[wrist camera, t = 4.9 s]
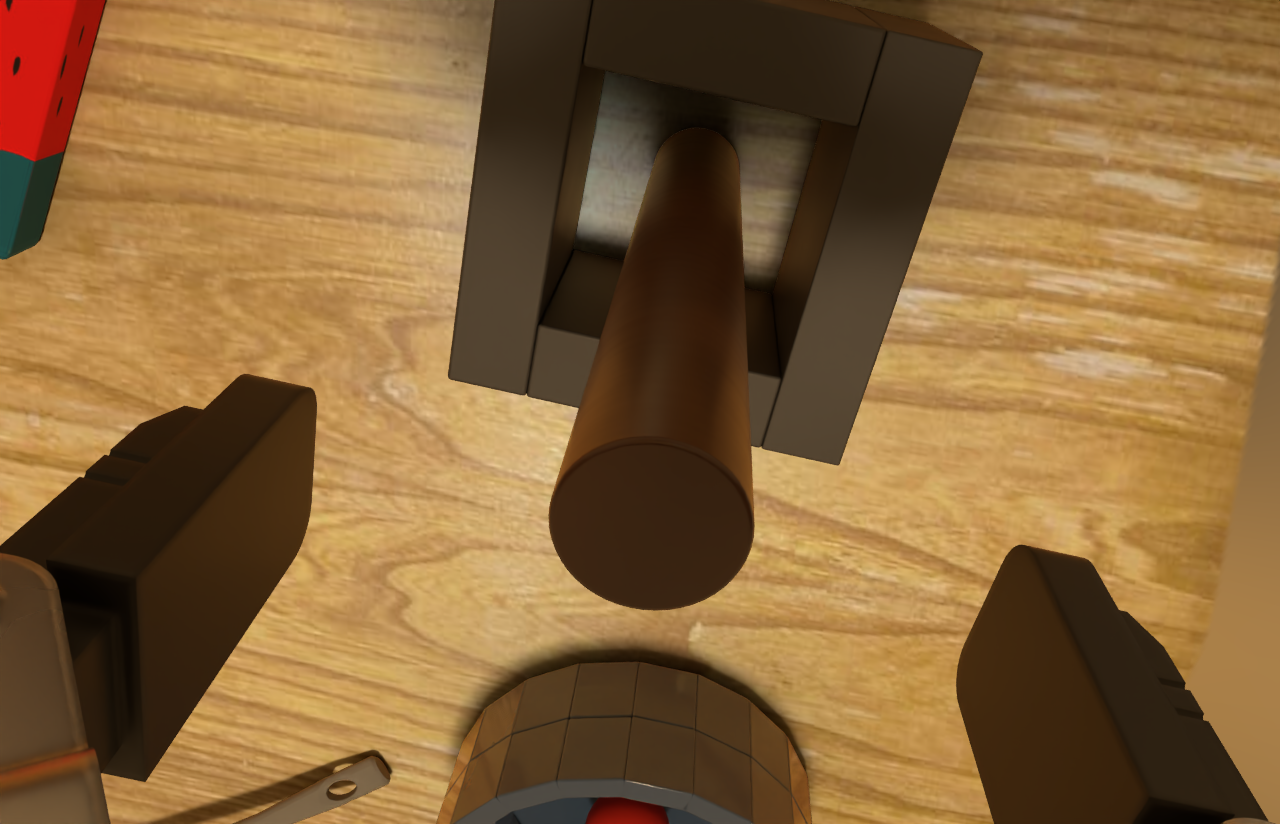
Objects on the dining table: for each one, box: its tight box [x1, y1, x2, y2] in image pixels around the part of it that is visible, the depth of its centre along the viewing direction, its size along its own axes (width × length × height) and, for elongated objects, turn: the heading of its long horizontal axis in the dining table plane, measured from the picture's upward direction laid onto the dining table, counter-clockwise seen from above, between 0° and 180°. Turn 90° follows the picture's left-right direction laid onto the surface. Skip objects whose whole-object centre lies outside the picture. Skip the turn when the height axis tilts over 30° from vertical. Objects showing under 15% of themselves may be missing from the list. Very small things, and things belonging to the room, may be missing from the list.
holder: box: [448, 0, 983, 465], centre depth 25 cm, size 10×10×6 cm
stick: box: [549, 128, 754, 610], centre depth 19 cm, size 2×2×18 cm
